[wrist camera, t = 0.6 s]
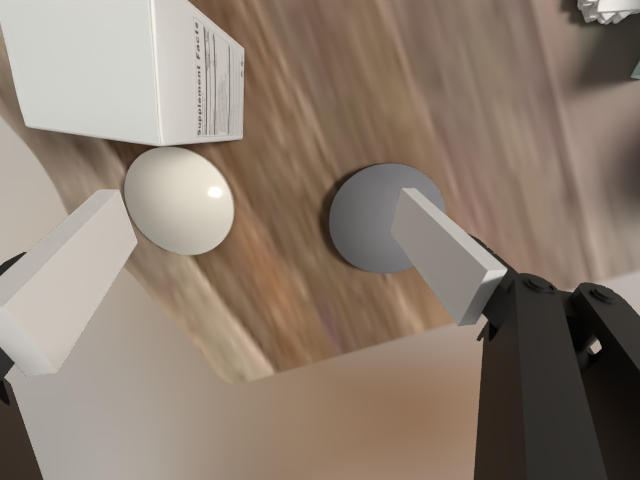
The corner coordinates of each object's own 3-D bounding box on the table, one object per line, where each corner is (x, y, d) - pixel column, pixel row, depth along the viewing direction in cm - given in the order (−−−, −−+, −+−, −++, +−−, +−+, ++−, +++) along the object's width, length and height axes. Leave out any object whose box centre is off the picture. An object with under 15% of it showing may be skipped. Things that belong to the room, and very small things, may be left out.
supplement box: (164, 130, 31) (18, 129, 17) (158, 34, 28) (-32, -65, 14) (244, 142, 31) (161, 150, 17) (247, 47, 27) (147, -41, 13)
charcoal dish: (412, 138, 29) (415, 139, 28) (459, 238, 33) (463, 243, 31) (309, 199, 32) (307, 202, 31) (361, 284, 36) (362, 289, 35)
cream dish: (188, 123, 30) (181, 122, 29) (256, 221, 34) (253, 224, 33) (110, 183, 34) (101, 185, 32) (180, 266, 37) (175, 271, 36)
